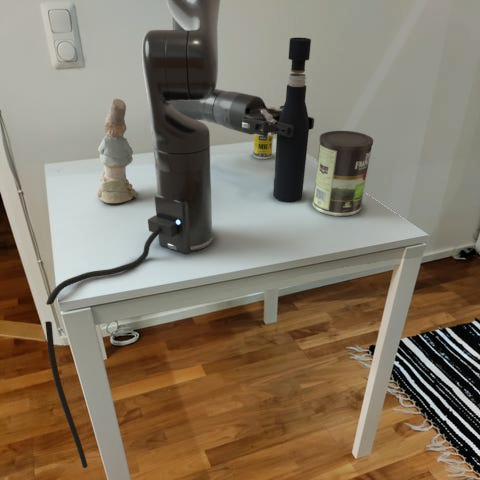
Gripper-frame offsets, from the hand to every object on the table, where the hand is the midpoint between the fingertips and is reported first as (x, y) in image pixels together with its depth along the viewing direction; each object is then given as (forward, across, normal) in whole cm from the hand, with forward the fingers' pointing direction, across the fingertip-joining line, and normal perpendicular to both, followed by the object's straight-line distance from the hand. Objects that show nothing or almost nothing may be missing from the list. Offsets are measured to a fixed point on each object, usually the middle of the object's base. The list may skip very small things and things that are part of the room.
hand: (302, 127), depth 93 cm
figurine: (-29, -25, +15) cm, 42 cm away
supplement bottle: (-23, +17, +15) cm, 32 cm away
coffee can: (+8, +3, +15) cm, 18 cm away
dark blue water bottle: (-2, 0, +15) cm, 15 cm away
